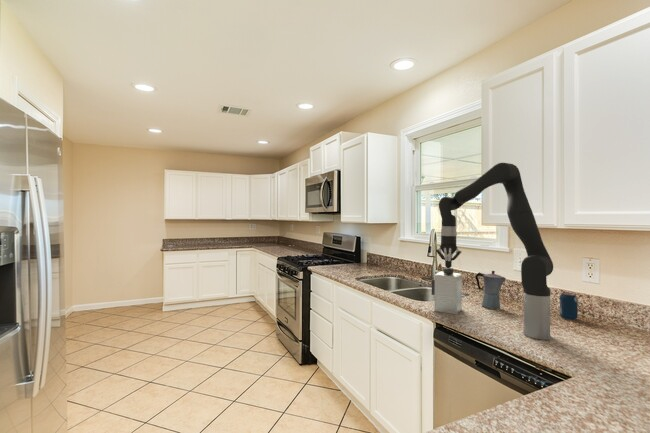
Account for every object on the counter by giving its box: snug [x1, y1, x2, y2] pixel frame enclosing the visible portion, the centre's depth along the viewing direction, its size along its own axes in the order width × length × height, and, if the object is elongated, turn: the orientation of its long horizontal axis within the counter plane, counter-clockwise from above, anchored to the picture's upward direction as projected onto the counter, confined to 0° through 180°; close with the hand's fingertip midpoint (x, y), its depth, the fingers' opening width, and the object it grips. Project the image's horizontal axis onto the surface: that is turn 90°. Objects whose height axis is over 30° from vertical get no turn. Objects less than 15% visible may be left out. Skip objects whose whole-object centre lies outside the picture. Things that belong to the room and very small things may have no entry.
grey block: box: [431, 271, 463, 316], centre depth 168 cm, size 14×11×19 cm
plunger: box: [442, 267, 455, 275], centre depth 167 cm, size 9×9×20 cm
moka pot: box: [474, 270, 507, 310], centre depth 174 cm, size 10×15×20 cm, turn 53°
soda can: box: [559, 291, 579, 321], centre depth 155 cm, size 7×7×12 cm
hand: (448, 268), depth 167 cm, fingers closed
